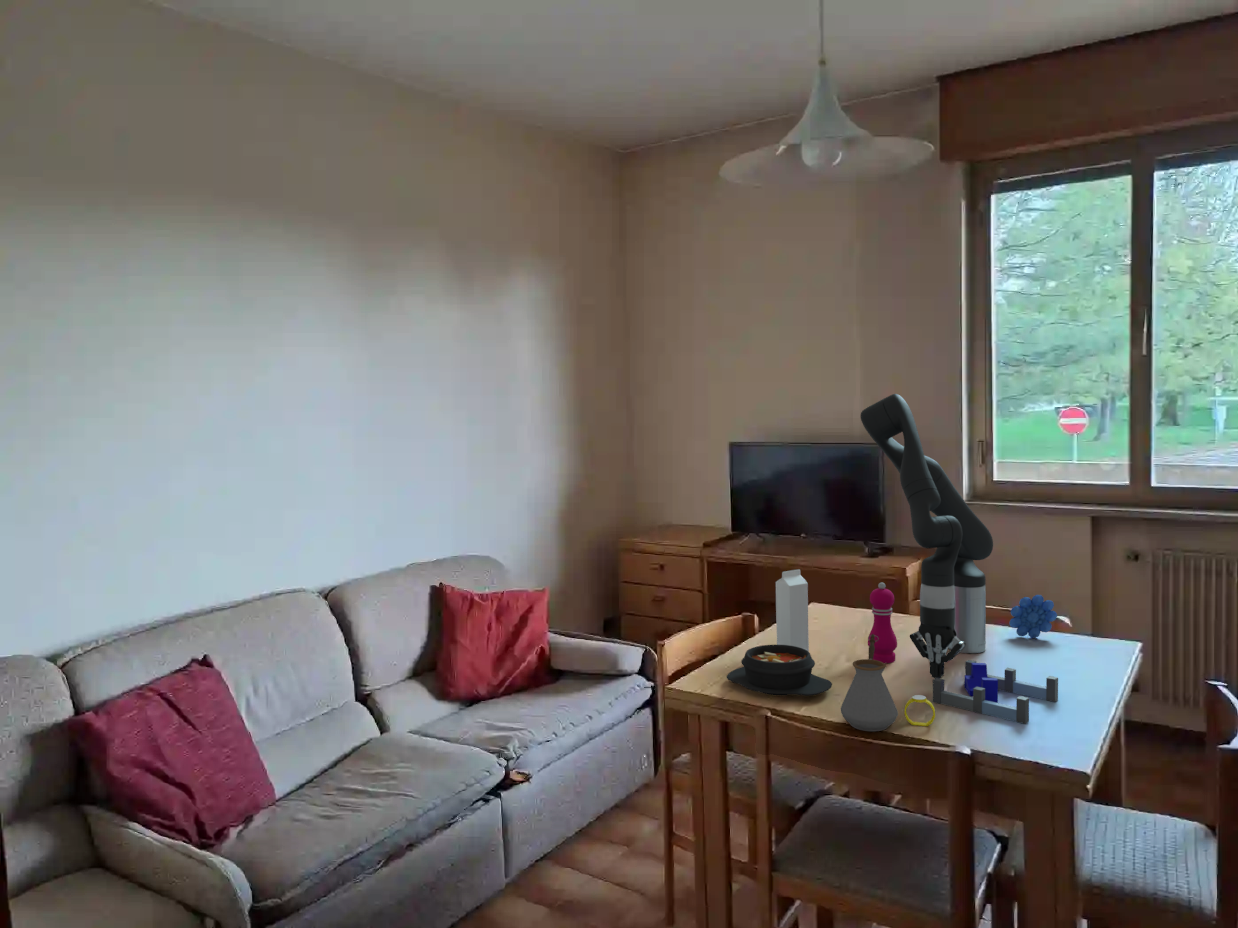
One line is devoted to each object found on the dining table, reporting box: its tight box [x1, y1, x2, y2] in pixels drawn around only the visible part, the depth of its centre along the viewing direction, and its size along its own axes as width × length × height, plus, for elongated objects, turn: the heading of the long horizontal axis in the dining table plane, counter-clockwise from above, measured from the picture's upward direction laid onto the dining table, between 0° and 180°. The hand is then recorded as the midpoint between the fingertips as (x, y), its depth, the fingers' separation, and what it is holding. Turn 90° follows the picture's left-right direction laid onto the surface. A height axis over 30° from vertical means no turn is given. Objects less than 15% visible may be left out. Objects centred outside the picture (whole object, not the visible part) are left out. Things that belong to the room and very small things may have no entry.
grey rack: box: [932, 659, 1059, 725], centre depth 193 cm, size 20×18×5 cm
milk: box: [775, 568, 810, 653], centre depth 232 cm, size 6×6×22 cm
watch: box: [903, 694, 936, 727], centre depth 181 cm, size 6×3×6 cm, turn 71°
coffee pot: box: [840, 634, 899, 732], centre depth 187 cm, size 21×12×15 cm, turn 160°
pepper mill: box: [867, 582, 898, 664], centre depth 224 cm, size 7×7×20 cm
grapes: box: [1009, 594, 1058, 639], centre depth 239 cm, size 12×7×12 cm, turn 69°
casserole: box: [726, 644, 833, 697], centre depth 206 cm, size 25×19×8 cm
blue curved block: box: [963, 662, 999, 703], centre depth 196 cm, size 12×4×6 cm, turn 169°
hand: (937, 677), depth 202 cm, fingers closed
